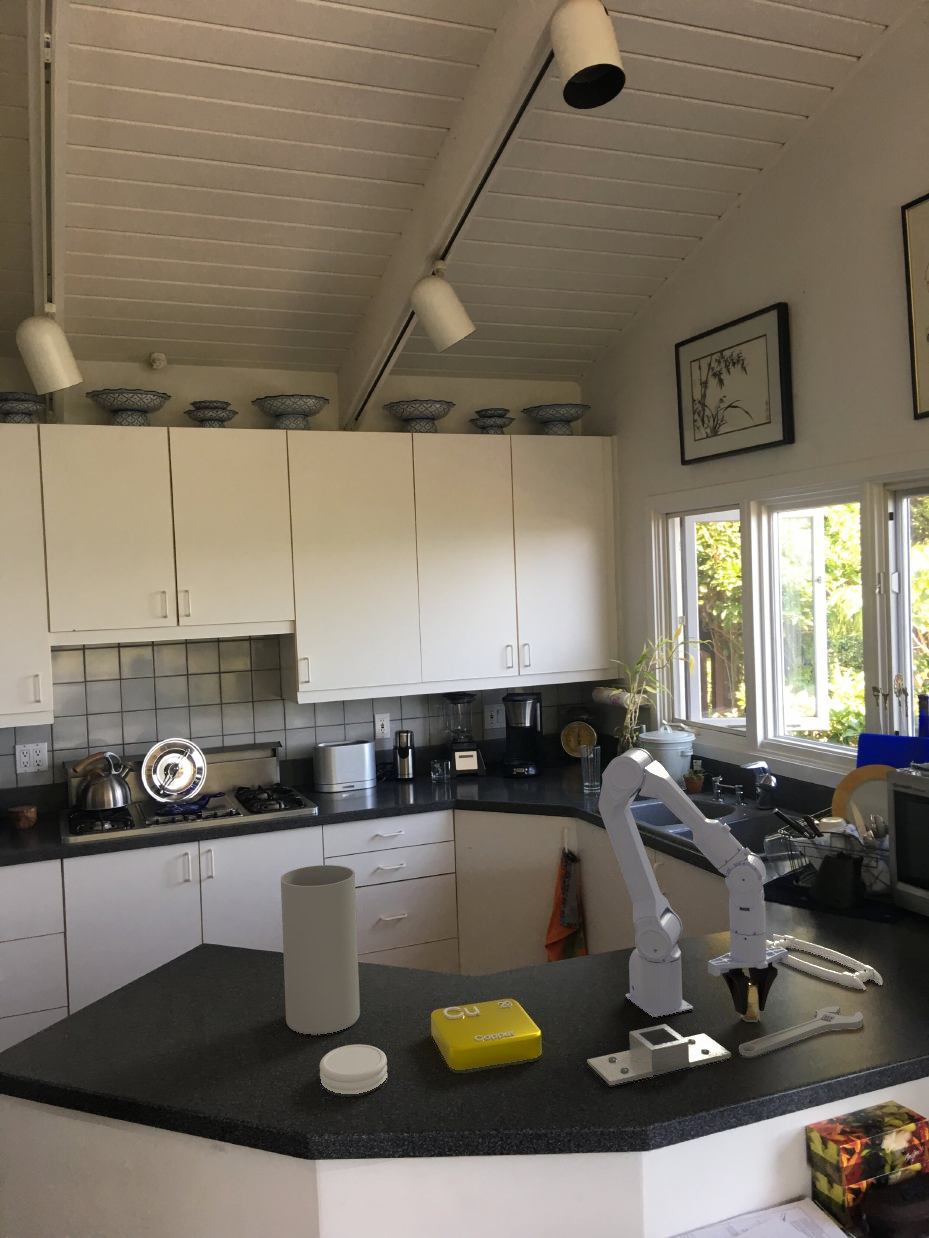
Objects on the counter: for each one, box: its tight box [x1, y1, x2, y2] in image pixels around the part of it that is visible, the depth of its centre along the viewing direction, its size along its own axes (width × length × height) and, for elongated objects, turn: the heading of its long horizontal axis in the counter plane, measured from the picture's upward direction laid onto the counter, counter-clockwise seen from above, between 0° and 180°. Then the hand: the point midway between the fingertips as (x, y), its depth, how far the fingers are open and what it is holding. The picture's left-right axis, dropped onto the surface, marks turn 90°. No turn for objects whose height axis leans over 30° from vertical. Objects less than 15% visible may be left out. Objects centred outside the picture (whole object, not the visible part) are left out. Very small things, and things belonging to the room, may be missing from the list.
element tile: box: [430, 998, 543, 1070], centre depth 151 cm, size 15×15×5 cm
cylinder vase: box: [280, 864, 361, 1036], centre depth 162 cm, size 12×12×25 cm
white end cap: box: [319, 1044, 388, 1094], centre depth 141 cm, size 10×10×4 cm
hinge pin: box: [740, 980, 760, 1020], centre depth 157 cm, size 3×3×6 cm
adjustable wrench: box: [738, 1005, 864, 1056], centre depth 151 cm, size 25×6×2 cm, turn 114°
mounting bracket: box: [586, 1023, 732, 1085], centre depth 143 cm, size 7×21×4 cm, turn 110°
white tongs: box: [766, 933, 884, 991], centre depth 179 cm, size 3×10×25 cm
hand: (749, 1010), depth 157 cm, fingers closed on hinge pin, 3 cm apart
